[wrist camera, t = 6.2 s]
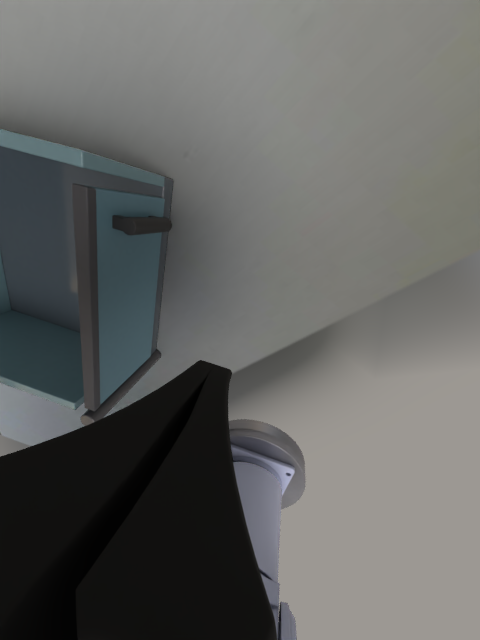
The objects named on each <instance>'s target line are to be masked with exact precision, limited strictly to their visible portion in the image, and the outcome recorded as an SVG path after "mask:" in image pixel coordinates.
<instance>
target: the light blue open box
mask: <svg viewBox="0 0 480 640" xmlns="http://www.w3.org/2000/svg"><path fill="white" fill-rule="evenodd" d="M73 183H75V184H81V185H86V186H92V187H99V188H105V189H111V190H118V191H124V192H130V193H137V194H143V195H149V196H156V197H160V198H164V199H165V202H164V213H163V217H166V218H168V219H170V209H171V199H172V189H173V179H171V178H168V177H165V176H162V175H158V174H155V173H152V172H149V171H146V170H143V169H140V168H137V167H134V166H131V165H128V164H124V163H121V162H118V161H115V160H112V159H109V158H106V157H103V156H100V155H97V154H94V153H91V152H87V151H84V150H81V149H77V148H73V147H70V146H66V145H62V144H58V143H54V142H50V141H46V140H42V139H39V138H35V137H31V136H27V135H23V134H19V133H15V132H11V131H8V130H4V129H0V383H3V384H5V385H8V386H11V387H13V388H16V389H19V390H22V391H24V392H27V393H30V394H33V395H35V396H38V397H41V398H43V399H46V400H49V401H52V402H54V403H57V404H60V405H63V406H65V407H68V408H71V409H73V410H76V409H77V408H78V407H79V406H80V405H81V404H83V403H84V387H83V370H82V353H81V336H80V319H79V302H78V285H77V268H76V251H75V234H74V217H73V200H72V184H73ZM167 239H168V232H162V235H161V246H160V257H159V269H158V280H157V291H156V302H155V313H154V324H153V335H152V346H151V356H150V357H149V358H148V359H147V360H146V361H145V362H144V363H143V364H142V365H141V366H140V367H139V368H138V369H137V370H136V371H135V372H134V373H133V374H132V375H131V376H130V377H129V378H128V379H127V380H126V381H125V382H124V383H123V384H121V385H120V386H119V387H118V388H117V389H116V390H115V391H114V392H113V393H112V394H111V395H110V396H109V397H108V398H107V399H106V400H105V401H104V402H103V403H102V404H101V405H100V407H99V408H98V409H97V410H96V411H92V410H89V409H88V410H87V411H86V412H85V413H84V414H83V415H82V416H81V422H82V423H83V424H84V425H85V426H86V425H89V424H91V423H93V422H96V421H98V420H100V419H102V418H103V417H104V416H105V415H106V414H107V413H108V412H109V411H110V410H111V409H112V408H113V407H114V406H115V405H116V404H117V403H118V402H119V401H120V400H121V398H122V397H123V396H124V395H125V394H126V393H127V392H128V391H129V390H130V389H131V388H132V387H133V386H134V385H135V384H136V383H137V382H138V381H139V380H140V379H141V378H142V377H143V376H144V374H145V373H146V372H147V371H148V370H149V369H150V368H151V367H152V366H153V365H154V364H155V363H156V362H157V361H158V360H159V359H160V358H161V354H160V352H159V351H158V350H156V347H157V337H158V327H159V317H160V307H161V297H162V288H163V278H164V268H165V258H166V248H167Z"/></svg>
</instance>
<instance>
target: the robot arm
mask: <svg viewBox="0 0 480 640" xmlns="http://www.w3.org/2000/svg"><path fill="white" fill-rule="evenodd" d="M231 375H232V372H231V370H230V369H227V368H224V367H221V366H218V365H214V364H211V363H208V362H205V361H202V360H200V361H198V362H196V363H195V364H194V365H192V366H191V367H190V368H188V369H187V370H186V371H184V372H183V373H181V374H180V375H179V376H177V377H176V378H174V379H173V380H171V381H170V382H168V383H167V384H165V385H163V386H162V387H160V388H159V389H157V390H155V391H154V392H152V393H150V394H149V395H147V396H145V397H143V398H142V399H140V400H138V401H136V402H135V403H133V404H131V405H129V406H127V407H125V408H123V409H121V410H119V411H117V412H115V413H113V414H111V415H109V416H107V417H105V418H102V419H100V420H98V421H96V422H93V423H91V424H89V425H86V426H84V427H82V428H79V429H77V430H74V431H72V432H70V433H67V434H64V435H62V436H59V437H56V438H53V439H51V440H48V441H45V442H42V443H40V444H37V445H34V446H31V447H28V448H26V449H23V450H20V451H17V452H14V453H11V454H7V455H4V456H1V457H0V640H297V638H296V623H295V618H294V616H293V614H292V612H291V611H290V609H289V605H288V603H284V602H281V603H280V611H279V622H278V610H279V585H280V584H279V583H278V563H279V540H280V517H281V497H282V495H283V493H284V491H285V490H286V488H287V486H288V484H289V482H290V480H291V478H292V476H293V475H294V473H295V468H294V467H293V466H291V465H289V464H286V463H283V462H280V461H278V460H275V459H272V458H269V457H266V456H264V455H261V454H258V453H255V452H253V451H250V450H247V449H244V448H241V447H239V446H236V445H233V444H231V443H230V434H229V422H228V390H229V382H230V379H231Z"/></svg>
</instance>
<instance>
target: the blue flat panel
mask: <svg viewBox="0 0 480 640" xmlns="http://www.w3.org/2000/svg"><path fill="white" fill-rule="evenodd" d="M72 200H73V217H74V234H75V251H76V268H77V285H78V302H79V319H80V336H81V353H82V370H83V387H84V404H85V408H87V409H89V410H92V411H96V410H97V409H98V408H99V407H100V405H101V404H102V403H103V402H104V401H105V400H106V399H107V398H108V397H109V396H110V395H111V394H112V393H113V392H114V391H115V390H116V389H117V388H118V387H119V386H120V385H121V384H123V383H124V382H125V381H126V380H127V379H128V378H129V377H130V376H131V375H132V374H133V373H134V372H135V371H136V370H137V369H138V368H139V367H140V366H141V365H142V364H143V363H144V362H145V361H146V360H147V359H148V358H149V357H150V356H151V346H152V335H153V324H154V313H155V302H156V291H157V280H158V269H159V257H160V246H161V235H162V232H168V231H170V229H171V227H172V224H171V221H170V220H169V219H168V218H166V217H163V213H164V202H165V199H164V198H160V197H156V196H149V195H143V194H137V193H130V192H124V191H118V190H111V189H105V188H99V187H92V186H86V185H81V184H75V183H73V184H72Z"/></svg>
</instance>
